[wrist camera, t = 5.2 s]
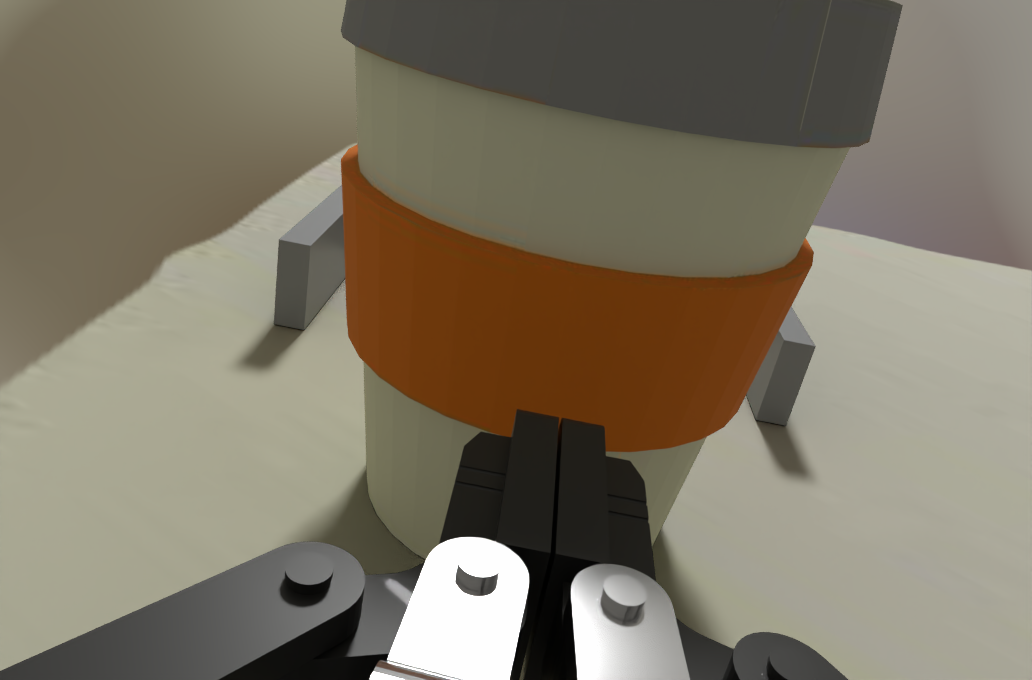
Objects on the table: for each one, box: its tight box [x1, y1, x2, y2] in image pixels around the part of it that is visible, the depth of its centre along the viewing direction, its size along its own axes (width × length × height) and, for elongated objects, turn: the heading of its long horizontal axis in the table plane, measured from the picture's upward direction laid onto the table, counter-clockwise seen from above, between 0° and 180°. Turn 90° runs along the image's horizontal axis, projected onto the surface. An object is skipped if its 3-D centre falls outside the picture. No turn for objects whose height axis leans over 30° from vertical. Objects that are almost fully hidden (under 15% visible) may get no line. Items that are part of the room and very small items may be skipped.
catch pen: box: [274, 185, 816, 426], centre depth 38 cm, size 14×20×4 cm
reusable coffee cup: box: [341, 0, 902, 560], centre depth 22 cm, size 13×13×15 cm
